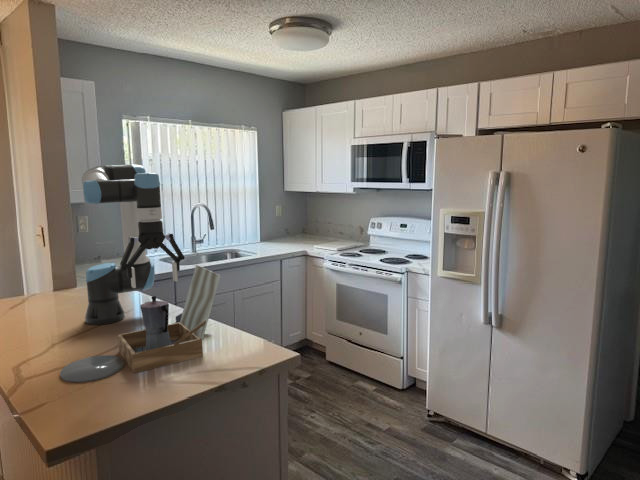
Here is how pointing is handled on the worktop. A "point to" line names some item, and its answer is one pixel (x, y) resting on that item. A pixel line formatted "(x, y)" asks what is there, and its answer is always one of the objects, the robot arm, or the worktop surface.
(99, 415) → the worktop surface
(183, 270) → the worktop surface
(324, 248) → the worktop surface
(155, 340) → the moka pot
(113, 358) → the disc
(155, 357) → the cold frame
